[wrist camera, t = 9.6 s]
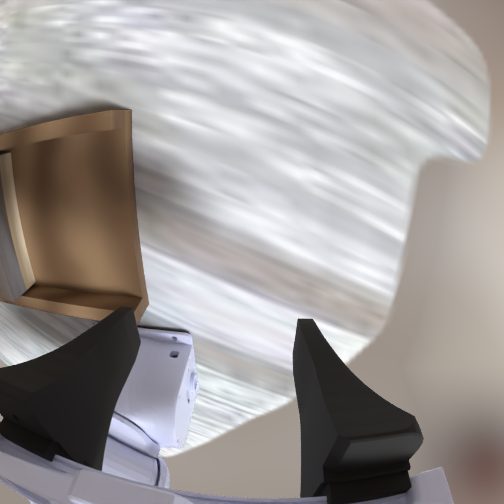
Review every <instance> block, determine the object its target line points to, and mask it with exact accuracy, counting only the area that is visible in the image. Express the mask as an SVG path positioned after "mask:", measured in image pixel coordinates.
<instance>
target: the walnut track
mask: <svg viewBox="0 0 504 504" xmlns="http://www.w3.org/2000/svg"><path fill="white" fill-rule="evenodd" d="M10 152H11V158H12V169H13V177H14V185H15V192H16V199H17V205H18V210H19V216H20V221H21V226H22V231H23V235H24V240H25V244H26V248H27V252H28V256H29V260H30V263H31V267H32V271H33V274H34V278H35V281H36V282H35V283H34V284H33V285H32V286H31V287H30V288H29V289H27V290H26V291H25V292H24V293H23V294H22V295H21V296H20V297H19V298H18V299H17V300H16V301H15V302H14V301H9V300H5V299H4V298H3V295H2V293H1V290H0V301H2V302H6V303H10V304H14V305H19V306H23V307H28V308H32V309H37V310H42V311H47V312H52V313H57V314H62V315H68V316H74V317H79V318H85V319H91V320H98V321H101V320H103V319H104V318H105V317H107V316H108V315H109V314H111V313H112V312H114V311H115V310H116V309H118V308H120V307H121V306H122V307H130V308H133V310H134V314H135V319H136V323H137V325H138V323H139V321H140V319H141V317H142V315H143V314H144V312H145V310H146V308H147V306H148V305H149V301H148V295H147V289H146V283H145V276H144V270H143V263H142V255H141V248H140V239H139V231H138V221H137V211H136V200H135V187H134V172H133V152H132V110H108V111H101V112H95V113H89V114H84V115H78V116H73V117H68V118H63V119H58V120H54V121H50V122H45V123H41V124H37V125H33V126H29V127H25V128H22V129H18V130H15V131H11V132H8V133H5V134H1V135H0V155H2V154H6V153H10Z"/></svg>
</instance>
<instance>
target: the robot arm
mask: <svg viewBox="0 0 504 504" xmlns="http://www.w3.org/2000/svg"><path fill="white" fill-rule="evenodd" d="M173 336H174V337H176V338H174V337H173ZM293 375H294V382H295V388H296V395H297V401H298V408H299V414H300V423H301V493H300V494H301V495H300V498H280V499H279V498H243V497H228V496H217V495H208V494H200V493H193V492H186V491H180V490H175V489H169V482H170V476H169V471H168V469H167V465H166V462H165V461H164V460H163V459H162V458H159V457H158V455H159V451H160V448H170V447H172V448H181V447H183V446H184V444H185V442H186V439H187V436H188V431H189V427H190V422H191V418H192V413H193V409H194V404H195V399H196V395H197V394H198V393H199V385H198V377H197V371H196V363H195V355H194V347H193V339H192V336H191V335H190V334H189V333H183V332H173V331H163V330H155V329H146V328H138V327H137V323H136V319H135V314H134V310H133V308H130V307H122V306H121V307H120V308H118V309H116V310H115V311H114V312H112V313H111V314H109V315H108V316H107V317H105V318H104V319H103V320H101V321H100V322H96V323H95V324H94V326H93V327H91V328H90V329H89V330H87V331H86V332H84V333H83V334H81V335H80V336H78V337H77V338H75V339H74V340H72V341H70V342H69V343H67V344H65V345H63V346H61V347H60V348H58V349H56V350H54V351H52V352H49V353H47V354H45V355H42V356H40V357H38V358H35V359H32V360H30V361H27V362H23V363H20V364H17V365H12V366H8V367H3V368H0V414H1V415H2V416H3V420H2V421H1V422H0V482H2V483H4V484H5V485H6V486H8V487H9V488H11V489H13V490H14V491H16V492H17V493H19V494H20V495H22V496H24V497H25V498H27V499H28V500H29V501H30V503H31V504H453V500H452V496H451V493H450V490H449V486H448V483H447V480H446V477H445V473H444V470H443V468H442V467H438V468H435V469H431V470H428V471H424V472H421V473H417V474H415V475H413V476H411V477H409V474H408V470H410V463H409V459H410V458H411V457H412V456H413V455H414V454H415V452H416V451H417V450H418V449H419V447H420V446H421V444H422V443H423V435H422V432H421V429H420V427H419V424H418V422H417V421H416V418H415V416H413V415H411V414H409V413H407V412H405V411H403V410H402V409H400V408H398V407H396V406H394V405H393V404H391V403H390V402H388V401H386V400H385V399H383V398H382V397H381V396H379V395H378V394H376V393H375V392H374V391H373V390H371V389H370V388H369V387H368V386H366V385H365V384H364V383H363V382H362V381H361V380H359V379H358V378H357V377H356V376H355V375H354V374H353V373H352V372H351V371H350V370H349V368H348V367H347V366H346V365H345V364H344V363H343V361H342V360H341V359H340V358H339V357H338V355H337V354H336V353H335V351H334V350H333V349H332V347H331V346H330V345H329V343H328V342H327V340H326V339H325V338H324V336H323V334H322V333H321V331H320V330H319V328H318V327H317V325H316V323H315V322H314V320H313V319H298V321H297V328H296V335H295V342H294V349H293Z"/></svg>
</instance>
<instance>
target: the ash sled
mask: <svg viewBox="0 0 504 504" xmlns="http://www.w3.org/2000/svg"><path fill="white" fill-rule="evenodd" d="M35 282H36V281H35V278H34V274H33V271H32V267H31V263H30V260H29V256H28V252H27V248H26V244H25V240H24V235H23V231H22V226H21V221H20V216H19V210H18V205H17V199H16V192H15V185H14V177H13V169H12V158H11V152H10V153H6V154H2V155H0V290H1V293H2V295H3V298H4V299H5V300H9V301H14V302H15V301H16V300H17V299H18V298H19V297H20V296H21V295H22V294H23V293H24V292H25V291H26V290H27V289H29V288H30V287H31V286H32V285H33V284H34V283H35Z"/></svg>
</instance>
